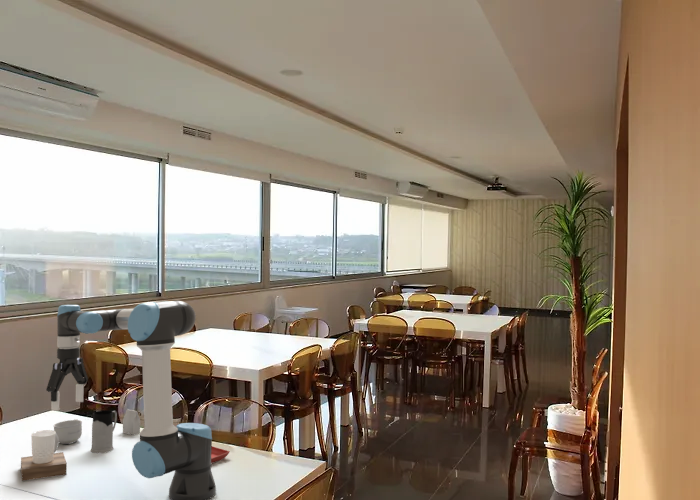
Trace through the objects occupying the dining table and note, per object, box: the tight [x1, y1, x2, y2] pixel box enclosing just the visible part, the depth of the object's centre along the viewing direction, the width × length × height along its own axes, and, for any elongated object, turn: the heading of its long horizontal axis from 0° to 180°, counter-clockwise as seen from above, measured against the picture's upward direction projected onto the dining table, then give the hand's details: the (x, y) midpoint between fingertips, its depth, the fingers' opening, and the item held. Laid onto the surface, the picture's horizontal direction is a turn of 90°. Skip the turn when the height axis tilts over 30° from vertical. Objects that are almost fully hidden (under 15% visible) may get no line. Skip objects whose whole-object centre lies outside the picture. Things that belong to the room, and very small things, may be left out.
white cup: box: [31, 429, 56, 464], centre depth 221 cm, size 8×8×10 cm
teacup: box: [53, 418, 83, 445], centre depth 258 cm, size 14×11×8 cm
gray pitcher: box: [89, 409, 118, 454], centre depth 250 cm, size 9×14×15 cm, turn 170°
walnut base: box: [20, 451, 68, 482], centre depth 221 cm, size 14×14×4 cm
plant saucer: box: [211, 446, 230, 464], centre depth 237 cm, size 18×18×3 cm
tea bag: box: [122, 408, 141, 436], centre depth 271 cm, size 4×7×10 cm, turn 61°
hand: (67, 406), depth 222 cm, fingers open, 13 cm apart
